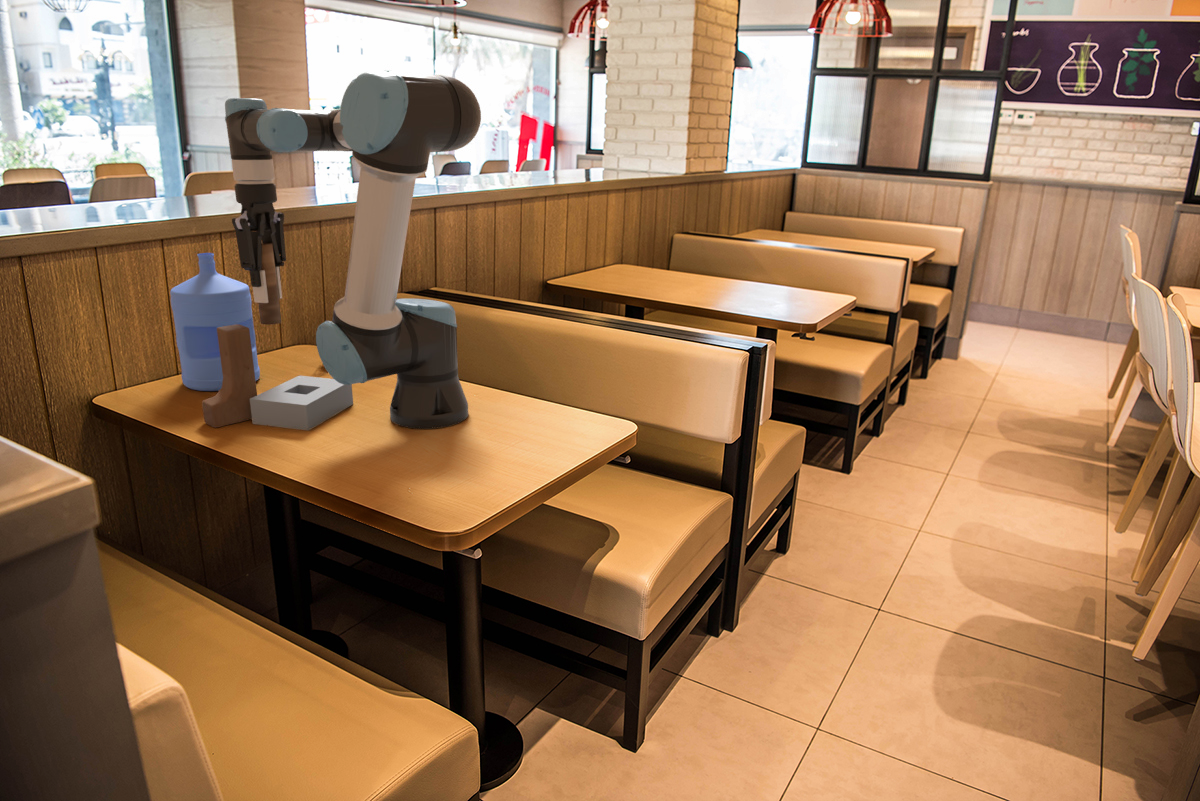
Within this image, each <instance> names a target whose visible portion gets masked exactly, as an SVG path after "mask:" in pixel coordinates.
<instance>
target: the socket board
mask: <svg viewBox="0 0 1200 801" xmlns="http://www.w3.org/2000/svg"><path fill="white" fill-rule="evenodd" d="M352 385H353V384H350V385H344V384H341V383H339V382H337V381H336V380H335V379H333V378H327V377H318V376H316V377H315V376H308V375H298V376H295V377H293V378H291V379H289V380H287V381H285V382H283V383H281V384H277V385H276V386H274V387H271V388H269V389H268V390H265V391H263V392H261V393H259V394H257V396H255V397H253V398H251V399H250V406H251V414H252V419H251V420H252V425H260V426H267V425H268V427H277V428H283V429H284V428H285V429H294V430H300V429H301V430H303V431H310V430H312V429H313V428H315V427H317V426H318V425H320V424H322V423H324V422H325V421H328V420H329V419H331V418H333V417H334V416H336V415H337V414H339V413H341V412H342V411H344V410H345V409H347V408H349V407H350V406H352V405H354V395H353V386H352ZM301 430H300V431H301Z"/></svg>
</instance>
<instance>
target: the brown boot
mask: <svg viewBox="0 0 1200 801" xmlns="http://www.w3.org/2000/svg"><path fill="white" fill-rule="evenodd" d="M217 335H218V343H219V351H220V358H221V366H222V373H223V382H222V388H221V389H220V390H219V391H217V393H216V394H215V396H212V397H209V398H206V399H204V400H202V401H201V405H202V412H203V419H204V423H205V424H207V425H209V426H210V427H212V428H214V429H218V428H221V426H222V427H224V426H225V425H226V426H230V425H233V424H237V423H241V422H242V423H243V422H246V421H249V420H252V414H251V406H250V399H251V398H253V397H255V396H257V395H258V390H257V383H256V382H257V381H255V372H254V364H253V356H252V347H251V339H250V330H249V328H248V327H245V326H242V325H240V324H235V325H229V326H223V327H218V328H217Z"/></svg>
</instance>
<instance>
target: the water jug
mask: <svg viewBox="0 0 1200 801" xmlns="http://www.w3.org/2000/svg"><path fill="white" fill-rule="evenodd" d="M196 256H197V257H198V267H199V272H198V274H197V275H194V276H193V277H191V278H189V279H187V280H185V281H183V282H181V283H179V284H178V285H176V286H173V287H172V288H171V289H170V292H169V294H170V306H171V310H172V315H173V321H174V328H175V334H176V335H175V339H176V340H175V341H176V346H177V349H178V353H179V354H178V355H179V360H180V368H181V380H182V384H183V385H184V386H185V387H186V388H188V389H191V390H194V391H199V392H201V391H202V392H219V390H220V389H221V388H222V382H223V373H222V366H221V358H220V351H219V343H218V335H217V328H218V327H223V326H229V325H235V324H240V325H242V326H245V327H248V328H249V330H250V339H251V347H252V356H253V364H254V372H255V381H256V382H257V381H258V380H259V379H260V376H261V373H260V372H261V369H260V366H259V361H258V352H257V350H258V349H257V342H256V333H255V332H256V330H255V326H254V318H253V310H252V295H251V292H250V286H249V285H248V284H247V283H244V282H242V281H239V280H236V279H234V278H231V277H229V276H225V275H223V274H221V273H218V272H217V270H216V261H215V259H214V256H215V254H214V253H213V252H203V253H197V254H196Z"/></svg>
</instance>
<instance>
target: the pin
mask: <svg viewBox="0 0 1200 801" xmlns="http://www.w3.org/2000/svg"><path fill="white" fill-rule="evenodd" d="M261 270H265V277H266V285H267V294H268V303H257V305H258V313H259V320H260V324H261V325H268V326H269V325H270V326H271V325H277V324H281V323H282V317H281V316H282V315H281V307H280V299H279V296H278V287H277V279H276V270H275V261H274V252H273V244H272V243H262V268H261Z"/></svg>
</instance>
